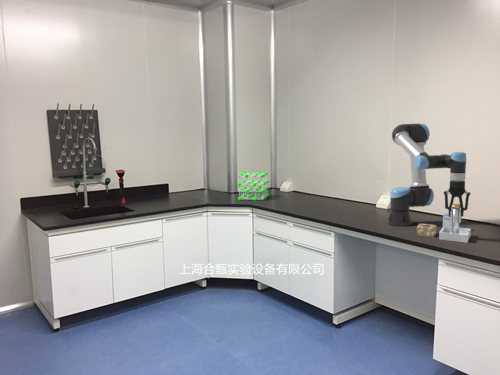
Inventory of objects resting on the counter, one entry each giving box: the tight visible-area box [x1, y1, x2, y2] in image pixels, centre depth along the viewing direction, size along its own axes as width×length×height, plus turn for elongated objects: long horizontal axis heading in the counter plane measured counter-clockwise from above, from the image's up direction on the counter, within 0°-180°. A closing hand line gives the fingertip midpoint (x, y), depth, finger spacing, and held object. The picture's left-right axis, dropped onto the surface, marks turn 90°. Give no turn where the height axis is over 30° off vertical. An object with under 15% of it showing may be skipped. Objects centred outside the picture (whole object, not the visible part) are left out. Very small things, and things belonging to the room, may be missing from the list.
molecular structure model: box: [237, 171, 270, 201], centre depth 371 cm, size 24×25×24 cm
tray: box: [438, 226, 472, 243], centre depth 226 cm, size 14×16×4 cm
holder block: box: [416, 223, 437, 238], centre depth 234 cm, size 9×9×5 cm
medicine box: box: [442, 213, 452, 228], centre depth 245 cm, size 8×4×9 cm, turn 24°
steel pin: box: [451, 203, 461, 234], centre depth 225 cm, size 5×5×16 cm
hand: (455, 221), depth 225 cm, fingers closed on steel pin, 3 cm apart
